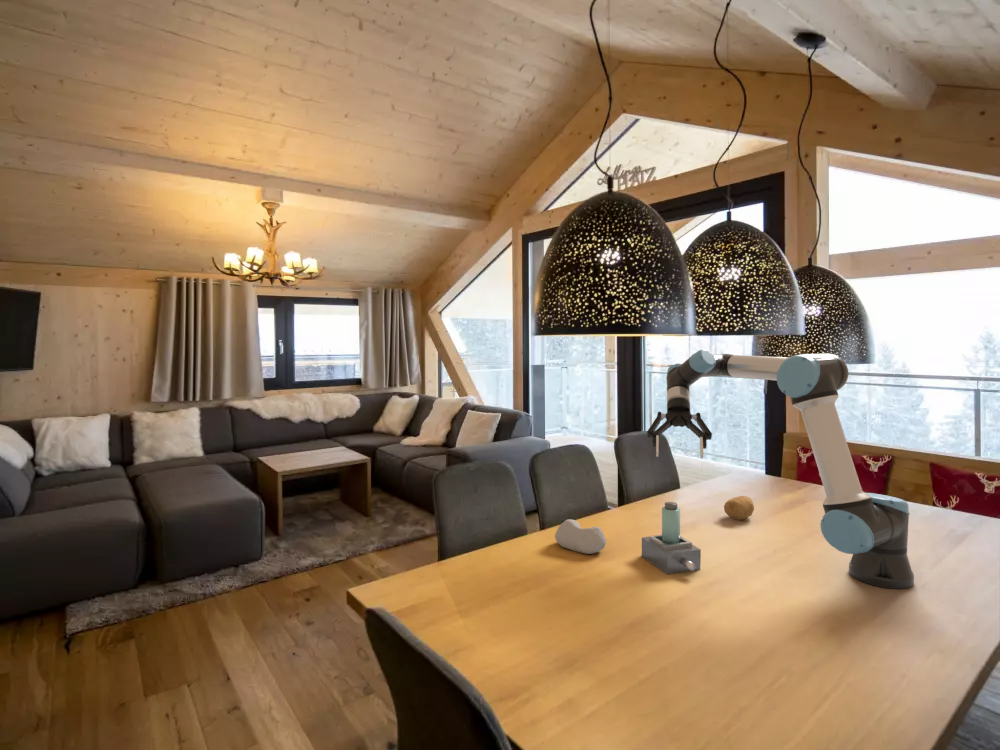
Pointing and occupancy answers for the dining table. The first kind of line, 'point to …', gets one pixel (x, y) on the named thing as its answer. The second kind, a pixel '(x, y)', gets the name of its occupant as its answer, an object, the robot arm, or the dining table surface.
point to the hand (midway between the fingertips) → (679, 455)
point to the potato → (739, 507)
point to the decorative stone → (580, 537)
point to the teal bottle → (670, 523)
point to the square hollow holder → (671, 554)
